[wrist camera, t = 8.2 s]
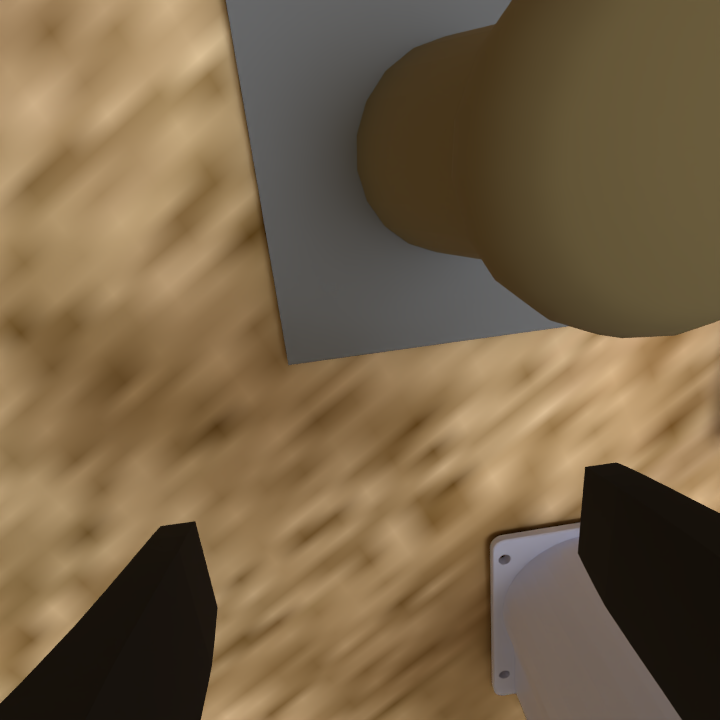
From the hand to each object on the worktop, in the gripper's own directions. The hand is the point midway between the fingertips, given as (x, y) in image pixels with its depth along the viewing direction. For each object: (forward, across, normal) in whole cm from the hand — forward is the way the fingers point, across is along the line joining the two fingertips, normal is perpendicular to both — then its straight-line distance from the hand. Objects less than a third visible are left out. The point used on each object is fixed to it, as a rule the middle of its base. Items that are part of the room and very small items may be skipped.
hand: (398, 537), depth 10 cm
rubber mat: (+9, -4, -6) cm, 12 cm away
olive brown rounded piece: (+9, -4, -6) cm, 12 cm away
